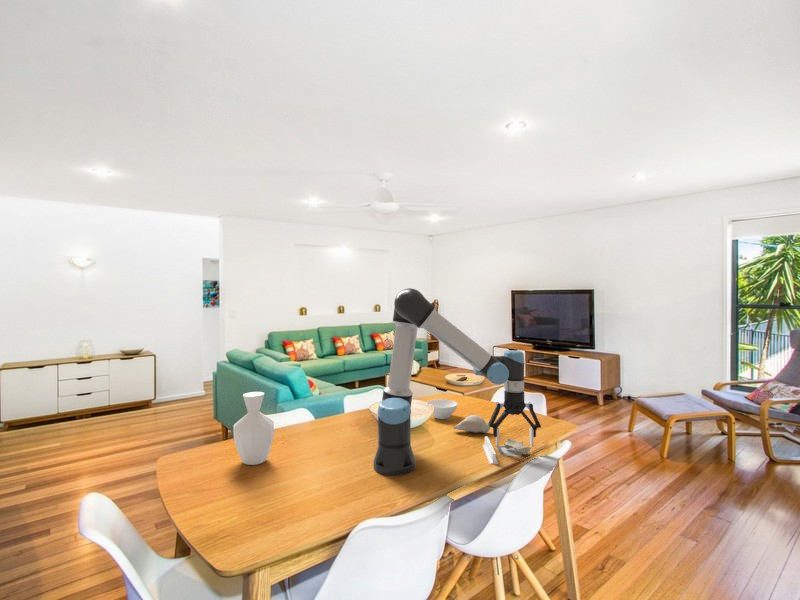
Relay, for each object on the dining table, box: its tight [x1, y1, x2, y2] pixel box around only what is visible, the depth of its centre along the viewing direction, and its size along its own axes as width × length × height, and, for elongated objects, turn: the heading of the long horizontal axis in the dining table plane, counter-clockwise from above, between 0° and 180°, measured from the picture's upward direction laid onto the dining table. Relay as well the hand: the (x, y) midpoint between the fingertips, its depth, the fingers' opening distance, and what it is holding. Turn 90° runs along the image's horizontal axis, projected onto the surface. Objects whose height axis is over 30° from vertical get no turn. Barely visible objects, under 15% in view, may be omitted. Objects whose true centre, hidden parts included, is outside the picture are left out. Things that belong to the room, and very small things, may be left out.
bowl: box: [425, 398, 459, 420], centre depth 201 cm, size 16×16×7 cm
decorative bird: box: [453, 414, 491, 434], centre depth 177 cm, size 9×16×8 cm, turn 79°
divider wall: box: [482, 436, 499, 465], centre depth 152 cm, size 3×18×4 cm, turn 177°
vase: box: [232, 391, 275, 466], centre depth 148 cm, size 14×14×25 cm
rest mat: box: [496, 445, 524, 457], centre depth 154 cm, size 12×12×1 cm
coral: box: [503, 437, 531, 455], centre depth 154 cm, size 6×10×4 cm, turn 49°
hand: (514, 445), depth 154 cm, fingers open, 12 cm apart
